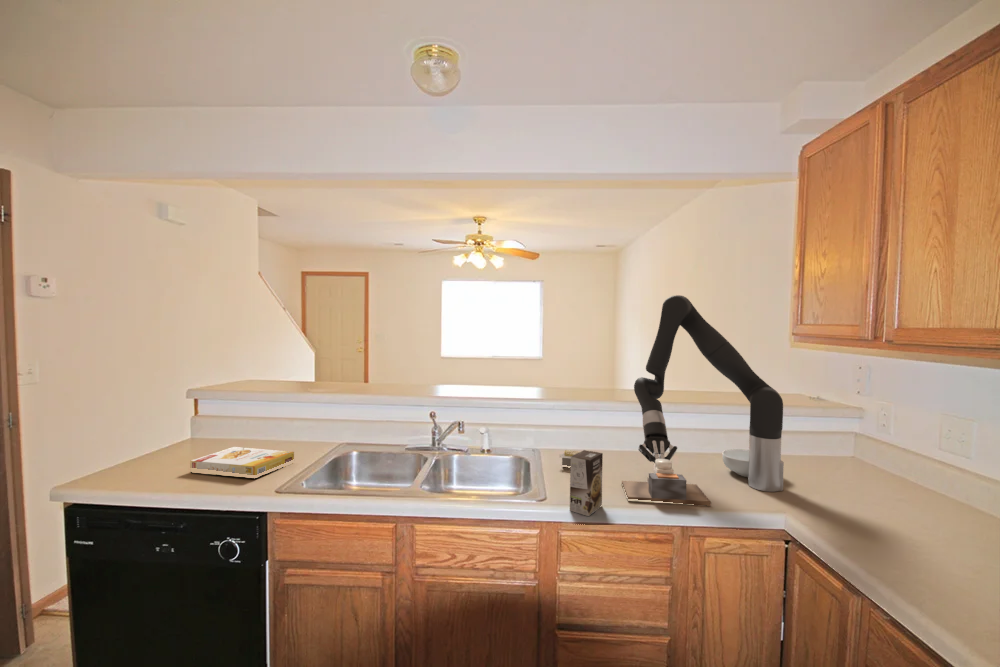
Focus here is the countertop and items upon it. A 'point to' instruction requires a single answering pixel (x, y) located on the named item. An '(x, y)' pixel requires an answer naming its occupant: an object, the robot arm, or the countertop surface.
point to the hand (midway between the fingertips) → (661, 473)
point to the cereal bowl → (737, 461)
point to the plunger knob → (663, 466)
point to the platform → (567, 457)
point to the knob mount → (666, 490)
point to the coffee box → (586, 482)
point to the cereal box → (243, 460)
